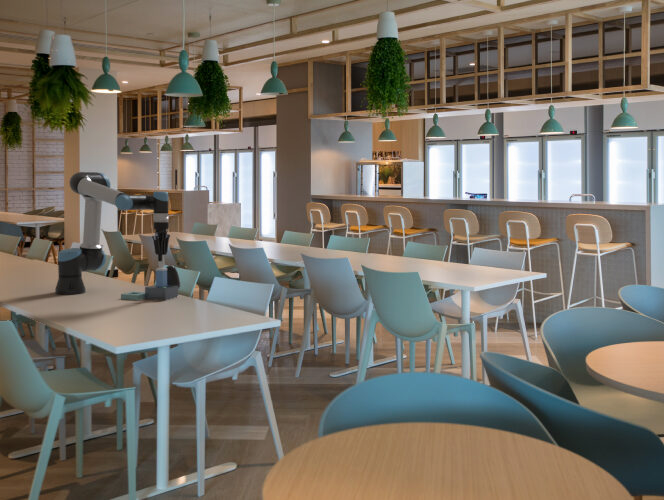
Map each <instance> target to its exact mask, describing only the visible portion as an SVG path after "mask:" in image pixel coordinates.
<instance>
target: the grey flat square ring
mask: <svg viewBox="0 0 664 500" xmlns="http://www.w3.org/2000/svg"><path fill="white" fill-rule="evenodd" d="M120 299H121V300H132V301H140V300H144V299H145V291H144V292H143V291H130V292H125V293H121V294H120Z"/></svg>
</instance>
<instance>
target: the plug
mask: <svg viewBox="0 0 664 500" xmlns="http://www.w3.org/2000/svg"><path fill="white" fill-rule="evenodd" d="M155 285H156V287H167V268H166V267H164V268H160V267H157V268H155Z"/></svg>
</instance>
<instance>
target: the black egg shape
mask: <svg viewBox="0 0 664 500" xmlns="http://www.w3.org/2000/svg"><path fill="white" fill-rule="evenodd" d="M165 268H167V285H177V286H178V292H179V291H180V288H181V281H180V276H179V273H178V270H177V268H176V267H175V265H168V266H166V267H165Z"/></svg>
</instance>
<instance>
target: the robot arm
mask: <svg viewBox="0 0 664 500" xmlns="http://www.w3.org/2000/svg"><path fill="white" fill-rule="evenodd" d="M69 188H70V189H71V191H72V192H74V193H75V194H77V195H81V196H82V197H83V198H84V214H83V215H84V219H83V232H82V233H83V234H82V235H83V237H82V243H81V244H80V245H79V247H78V248H77V247H72V248H65V249H61V250H60V251H59V252H58V255H57V256H58V257H57V270H58V271H57V272H58V280H57V283H56V285H55V289H54V292H55V294H57V295H77V294H79V295H80V294H83V293H86V287H85V283H84V281H83V278H82V277H83V275H82V272H83V273H84V272H90V271H96V270H97V271H98V270H100V269H102V268H103V267H104V266H105V264H106V261H107V256H106V255H107V254H106V253H105V250H104V249H103V246H102V245H101V244H100V242H101V241H100V237H101V224H102V221H101V220H102V206H103V202H105V203H106V204H107V203H108V204H110V205H112V206H115V207H116V208H117V209H118V210H120V211H135V210H137V211H139V210H140V211H141V210H151V211H153V213H152V215H153V230H155V234H154V235H152V239H153V246H154V253H155V255H157V259H158V267H157V268H166V267H165V261H166V260H165V259H166V258H165V257H166V256H165V255H167V253H168V250H169V241H170V237H171V235H170V234H168V231H167V230H169V227H170V226H169V225H170V222H169V212H170V211H169V203H170V201H169V199H170V198H169V193H168V192H167V191H159V190H158V191H153V194H127V193H125V192H123V191H120V190H117V189H114V188H111V182H110V179H109V178H108V176H107V175H106V174H104V173H103V172H96V171H94V172H93V171H92V172H91V171H89V172H88V171H85V172H84V171H79V172H76V173H74V174H73V175H72V176H71V177H70V179H69Z"/></svg>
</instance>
